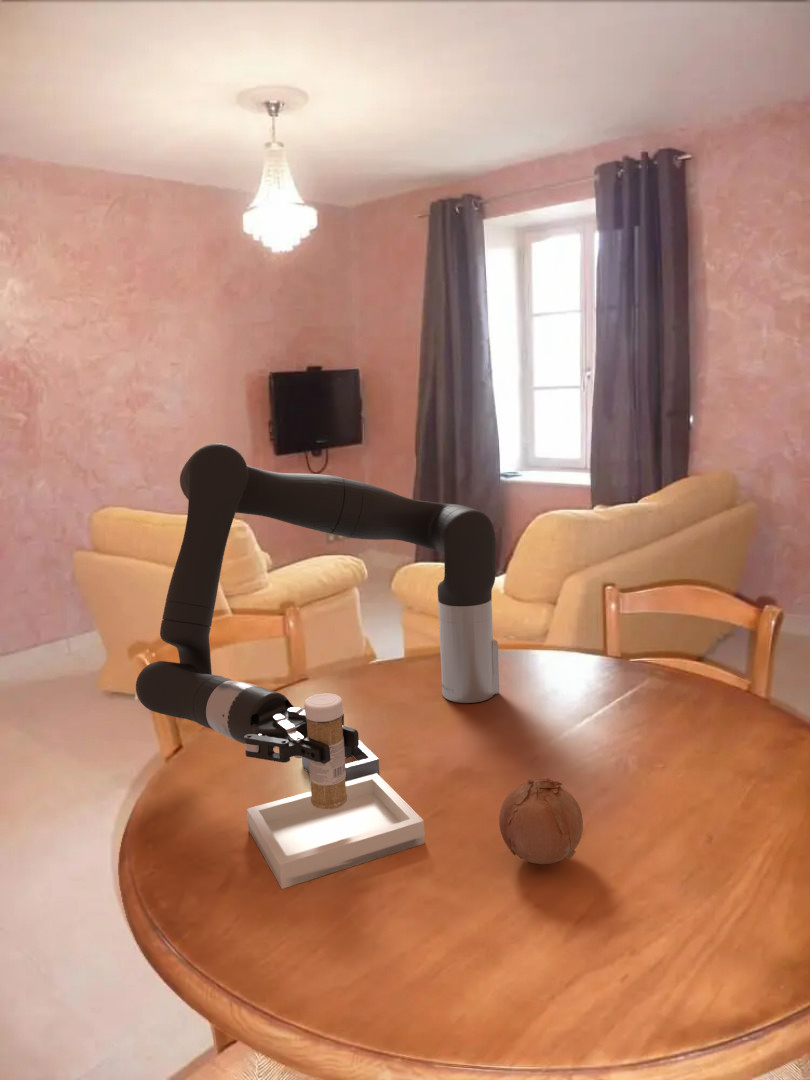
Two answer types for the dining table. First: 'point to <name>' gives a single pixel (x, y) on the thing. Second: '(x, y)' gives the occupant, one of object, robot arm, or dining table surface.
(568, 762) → the dining table surface
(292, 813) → the plastic tray
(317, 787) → the sprinkles bottle
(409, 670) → the dining table surface
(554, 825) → the onion
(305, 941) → the dining table surface
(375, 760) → the metal collar
